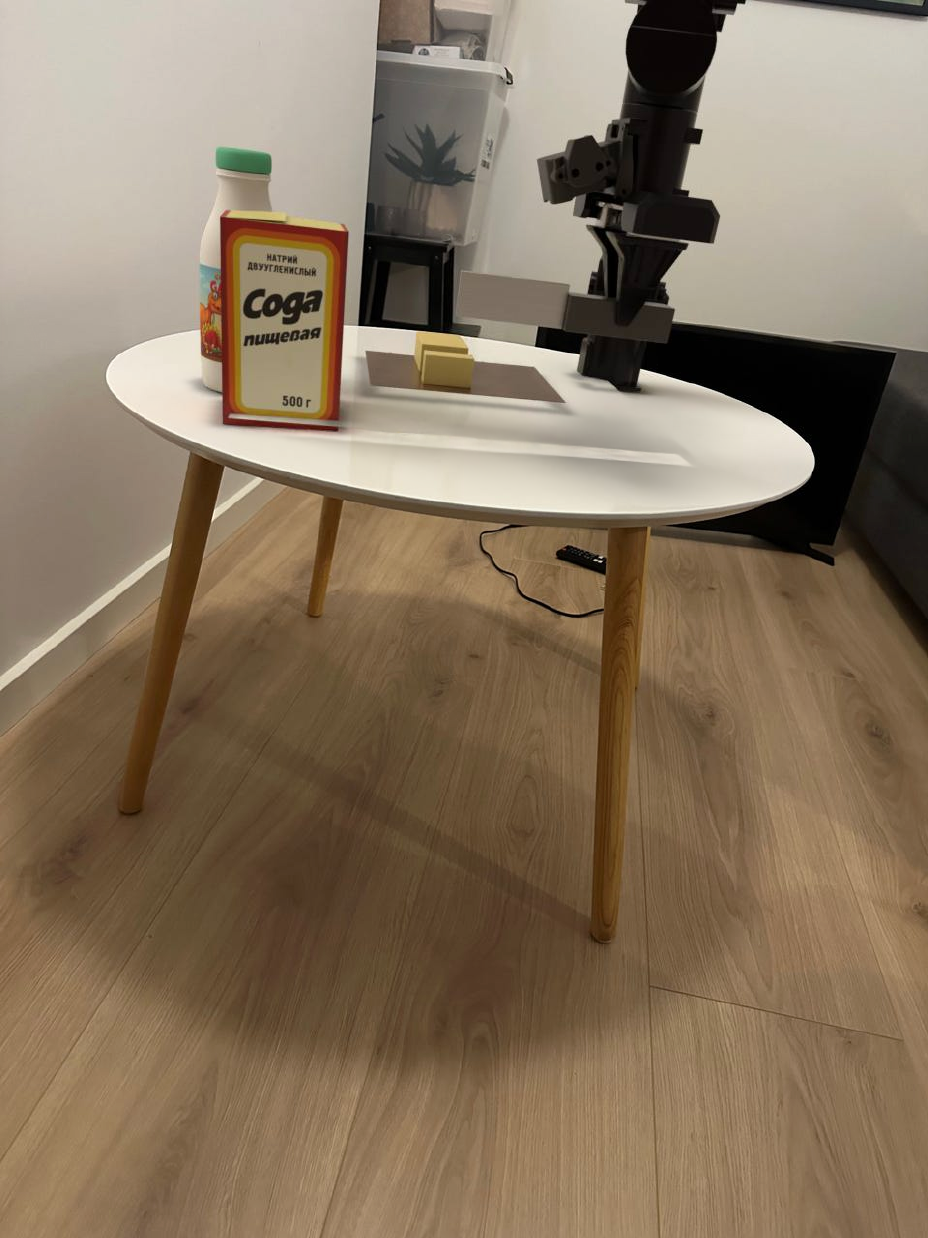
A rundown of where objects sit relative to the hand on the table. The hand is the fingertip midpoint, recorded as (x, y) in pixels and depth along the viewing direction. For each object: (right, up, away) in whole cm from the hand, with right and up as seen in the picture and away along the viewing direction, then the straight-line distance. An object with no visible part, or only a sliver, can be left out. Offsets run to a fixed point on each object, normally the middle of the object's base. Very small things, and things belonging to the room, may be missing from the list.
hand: (617, 323), depth 72 cm
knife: (-5, -1, 0) cm, 5 cm away
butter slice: (-15, -1, +16) cm, 22 cm away
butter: (-16, +3, +23) cm, 28 cm away
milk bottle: (-34, -3, +10) cm, 35 cm away
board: (-13, +1, +21) cm, 25 cm away
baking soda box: (-29, -7, +3) cm, 30 cm away
